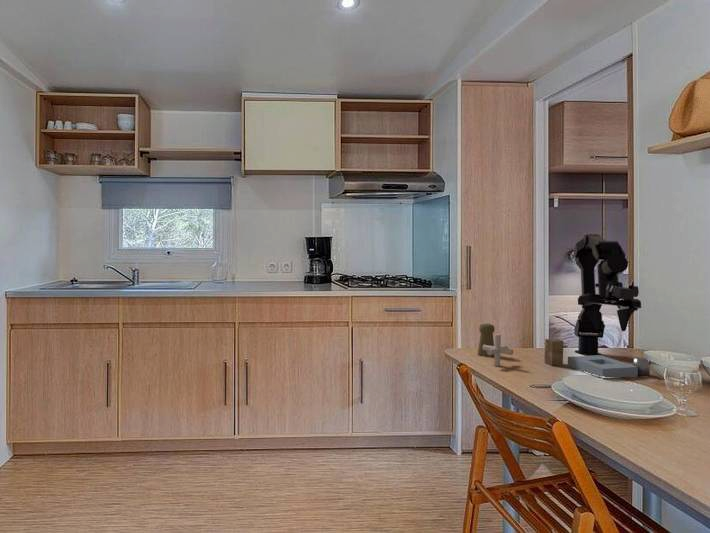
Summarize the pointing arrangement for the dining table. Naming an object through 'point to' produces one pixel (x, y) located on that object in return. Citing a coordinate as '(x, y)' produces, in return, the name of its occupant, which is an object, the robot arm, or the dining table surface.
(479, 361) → the dining table surface
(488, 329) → the dark green pepper mill
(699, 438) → the dining table surface
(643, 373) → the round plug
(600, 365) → the bore block
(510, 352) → the pipe connector
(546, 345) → the square peg
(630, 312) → the robot arm
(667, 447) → the dining table surface
